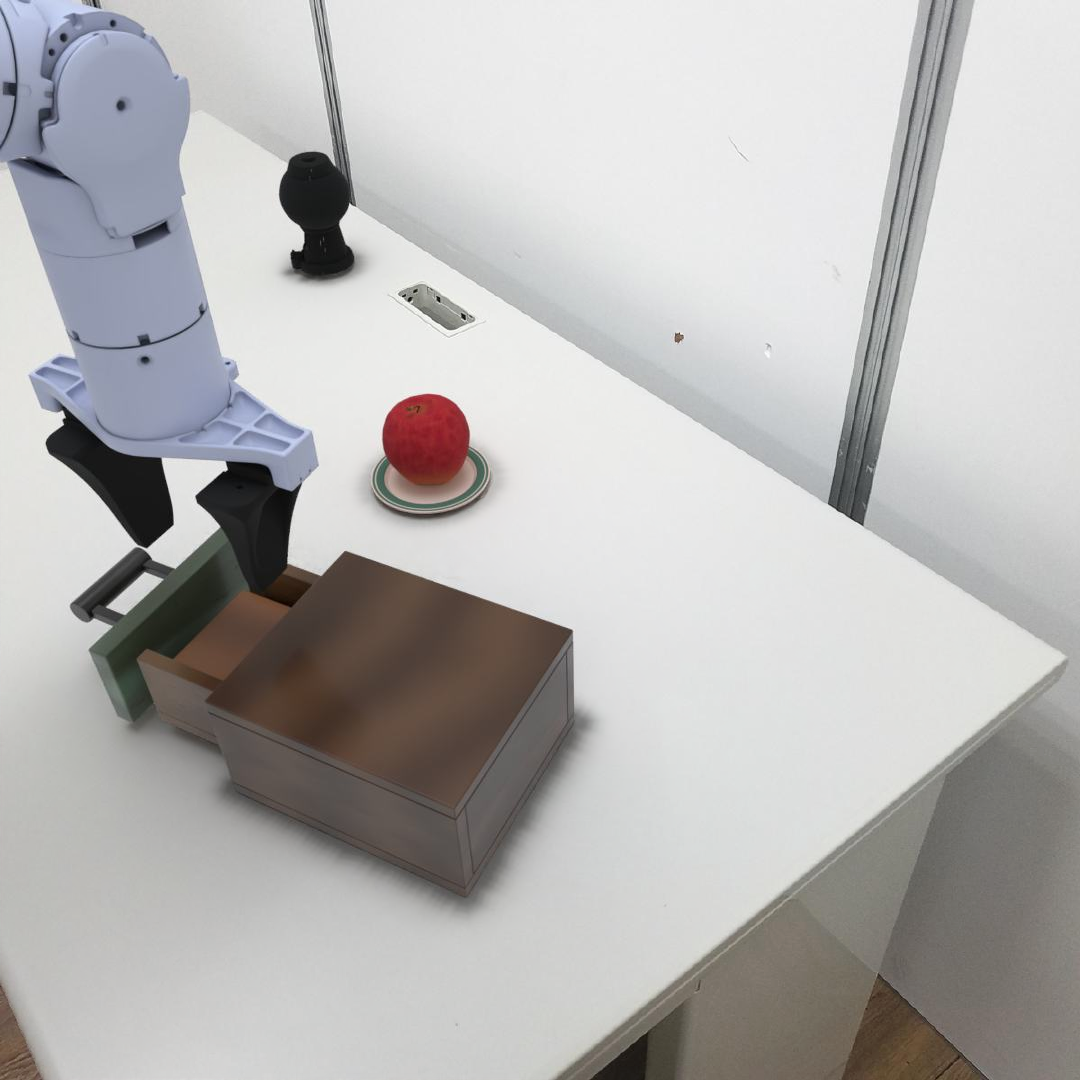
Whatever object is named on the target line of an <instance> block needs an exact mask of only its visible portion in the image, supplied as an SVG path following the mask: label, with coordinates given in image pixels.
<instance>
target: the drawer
mask: <svg viewBox="0 0 1080 1080" xmlns="http://www.w3.org/2000/svg"><path fill="white" fill-rule="evenodd" d="M145 573H146V574H148V575H150V576H154V577H156V578H158V579H161V580H162V581H160V582H159V583H157V585H156V586H155V587H154V588H152V590H151V591H150V592H148V593H147V594H146V595H145V596H144V597H143V598H142V599H141V600H140V601H139V602H138V603H136V605H135V606H134V607H132V608H131V609H130V610H128V612H127V613H126V614H124V613H120V612H118V611H117V610H116V611H115V610H114V609H111V608H108V606H109V605H111V603H113V602H114V601H115V600H116V599H117V598H118V597H119V596H120V595H122V594H123V593H124V592H125V591H126V590H127V589H128V588H129V587H130V586H131V585H133V584H134V583H135V582H136V581H137V580H138V579H139V578H140V577H142V576H143V575H144V574H145ZM321 576H322V575H320V574H318V573H315V572H313V571H309V570H306V569H304V568H301V567H299V566H295V565H293V564H291V563H287V569H286V570H285V571H284V572H283V573H282V574H281V575H280V576H279V577H278V578H277V579H276V580H275V581H274V582H273V583H272V584H271V585H270V586H269V587H268V588H267V589H266V590H265V591H263V592H261V591H258V590H255V589H253V588H251V587H250V585H249V584H248V583H247V581H246V580H245V578H244V576H243V574H242V571H241V569H240V566H239V564H238V561H237V558H236V556H235V553H234V550H233V548H232V546H231V543H230V542H229V540H228V538H227V536H226V535H225V533H224V532H223V530H222V529H221V527H220V526H219V527H218V529H216V531H214V532H213V533H212V534H211V535H210V536H209V537H208V538H207V539H205V541H203V542H202V543H201V544H200V545H199V546H198V547H197V548H196V549H195V550H194V551H193V552H192V553H191V554H190V555H189V556H187V557H186V558H185V559H184V560H183V561H182V562H180V564H179V565H178V566H176V567H175V568H174V567H171V566H169V565H167V564H164V563H161V562H158V561H155V560H153V558H152V556H151V555H150V553H149V552H147V550H145V549H144V548H143V547H140V546H135V547H133V548H132V549H131V550H130V551H128V553H127V554H126V555H124V556H123V557H122V558H121V559H120V560H118V561H117V562H116V563H114V565H113V566H111V567H110V568H109V569H108V570H107V571H106V572H105V573H104V574H102V576H101V577H99V578H97V580H96V581H95V582H94V583H92V584H91V585H90V586H89V587H87V589H85V590H84V591H83V592H82V593H81V594H80V595H78V596H77V597H76V598H75V599H73V601H72V602H71V603H70V605H69V608H70V611H71V612H72V614H73V615H74V616H75V617H76V618H77V619H78V620H79V621H81V622H83V623H86V624H88V623H91V622H92V621H93V620H97V621H99V622H102V623H104V624H107V625H109V626H111V628H109V629H108V630H107V631H106V632H105V633H104V634H102V636H101V637H100V638H99V639H98V640H96V641H95V642H94V643H93V644H92V645H91V646H90V647H89V648H88V653H89V655H90V657H91V659H92V662H93V664H94V666H95V668H96V671H97V673H98V675H99V677H100V679H101V682H102V684H103V686H104V689H105V691H106V693H107V695H108V698H109V700H110V702H111V705H112V707H113V709H114V712H115V713H116V716H117V717H118V718H120V719H122V720H124V721H127V722H129V723H131V724H135V723H136V722H138V720H139V719H140V718H141V717H142V716H143V715H144V714H145V713H146V712H147V711H148V710H149V709H150V708H151V707H152V706H153V705H154V706H155V708H156V710H157V713H158V715H159V718H160V720H162V721H164V722H166V723H168V724H170V725H172V726H175V727H177V728H179V729H181V730H184V731H185V732H188V733H190V734H193V735H195V736H198V737H199V738H202V739H204V740H207V741H208V742H211V743H213V744H216V745H217V746H220V745H219V742H218V739H217V737H216V734H215V731H214V728H213V725H212V723H211V720H210V717H209V714H208V711H207V708H206V705H205V702H204V701H205V700H206V699H207V697H208V696H209V695H210V694H211V693H212V692H213V691H214V690H215V689H216V688H217V687H218V686H219V685H220V684H221V682H222V681H223V680H221V679H219V678H216V677H214V676H211V675H209V674H207V673H204V672H202V671H199V670H197V669H195V668H192V667H190V666H188V665H185V664H183V663H180V662H178V661H176V660H173V659H174V658H175V657H176V656H177V655H178V654H179V653H180V652H181V651H182V650H183V649H184V648H185V647H186V646H187V645H188V644H189V643H190V642H191V641H192V640H193V639H194V638H195V637H196V636H197V635H198V633H199V632H200V631H201V630H202V629H203V628H204V627H205V626H206V625H207V624H208V623H209V622H210V621H211V620H212V619H213V618H214V617H215V616H216V615H217V614H218V613H219V612H220V611H221V610H222V609H223V608H224V607H225V606H226V605H227V604H228V603H229V602H230V601H231V600H232V599H233V598H234V597H235V596H236V595H237V594H238V593H239V592H240V591H241V590H246V591H249V592H251V593H254V594H257V595H259V596H262V597H264V598H267V599H270V600H272V601H275V602H278V603H280V604H283V605H286V606H288V607H291V608H292V607H293V606H294V605H295V603H296V602H297V601H298V600H299V599H300V598H301V597H302V596H303V595H304V594H305V593H306V592H307V591H308V590H309V588H310V587H311V586H312V585H313V584H314V583H315V582H316V581H317V580H318V579H319V578H320V577H321Z"/></svg>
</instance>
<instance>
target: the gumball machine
mask: <svg viewBox="0 0 1080 1080" xmlns="http://www.w3.org/2000/svg"><path fill="white" fill-rule="evenodd" d="M303 149H304V150H306V149H305V147H303ZM278 199H279V203H280V206H281V209H282V210H283V211H284V213H285V215H286V217H288V218H289V219H290V221H291V222H293V223H294V224H296V225H298V226H299V228H300V229H301V231H302V232H303V239H304V240H303V244H302V249H301V250H297V251H296V250H295V249H291V251H290V253H289V255H290V262H291V263H290V264H291V268H292V269H294V270H296V271H302V272H303V273H305V274H308V275H311V276H317V277H318V276H321V277H323V278H324V277H325V276H331V275H336V274H340V273H342V272H345V271H347V270H348V269H349V268H351V267H352V266H353V264H354V263H355V254H354V251H353V250H352V247H350V246H349V245H347V244H346V240H345V237H344V235H343V231H342V229H341V226H340V223H341V220H342V219H343V218H344V216H345V215H346V214H347V212H348V210H349V207H350V203H351V202H350V200H351V189H350V184H349V182H348V180H347V177H346V176H345V175H344V174H343V172H342V171H341V170H340V169H339V168H338V166H336V165H334V163H333V162H332V160H331V158H330V157H329V156H328V155H327V153H324V152H320V151H313V150H312V151H303V152H300V153H297V154H295V155H293V156H291V157H290V159H289V160H288V163H287V168H286V171H284V173H283V174H282V177H281V179H280V182H279V188H278Z"/></svg>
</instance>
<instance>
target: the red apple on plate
mask: <svg viewBox="0 0 1080 1080" xmlns="http://www.w3.org/2000/svg"><path fill="white" fill-rule="evenodd" d="M381 437H382V438H381V442H382V449H383V452H384V455H383V456H381V457H380V458H379V459H378V461H377V462H376V463H375V465H374V466H373V468H372V471H371V474H370V484H371V488H372V490H373V493H374V494H375V496H376V497H377V498H378V499H379V500H380V501H381V502H382V503H383V504H385V505H387V506H388V507H390V508H392V509H395V510H398V511H401V512H403V513H404V512H405V513H410V514H416V515H417V514H419V515H430V514H438V513H445V512H449V511H453V510H455V509H458V508H461V507H463V506H465V505H467V504H469V503H470V502H472V501H474V500H475V499H476V498H478V496H480V495H481V494H482V493H483V491H484V490H485V489H486V487H487V485H488V483H489V481H490V478H491V477H490V475H491V467H490V464H489V461H488V459H487V457H486V456H485V455H484V454H483V453H482V452H481V451H480V450H479V449H477V448H476V447H474V446H473V445H470V439H471V432H470V426H469V423H468V420H467V417H466V415H465V414H464V412H463V410H462V409H461V408H460V406H459V405H458V404H457V403H456V402H454V401H453V400H451V398H448V397H446V396H443V395H441V394H437V393H436V394H435V393H422V394H417V395H412V396H411V395H410V396H408V397H406V398H404V399H402V400H400V401H399V402H397V403H396V404H395V405H394V406H393V407H392V408H391V410H390V411H389V412H388V413H387V414H386V417H385V419H384V423H383V426H382V435H381Z"/></svg>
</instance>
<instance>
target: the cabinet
mask: <svg viewBox="0 0 1080 1080" xmlns="http://www.w3.org/2000/svg"><path fill="white" fill-rule="evenodd" d="M320 576H321V577H320V578H319V579H318V580H317V581H316V582H315V583H314V584H313V585H312V586H311V587H310V588H309V590H308V591H307V592H306V593H305V594H304V595H303V596H302V597H301V598H300V599H299V600H298V601H297V602H296V603H295V605H294V606H293V607H292V608H291V609H290V610H289V611H288V612H287V613H286V614H285V615H284V616H283V617H282V618H281V619H280V621H279V622H278V623H277V624H276V625H275V626H274V627H273V628H272V629H271V630H270V631H269V632H268V633H267V634H266V635H265V637H264V638H263V639H262V640H261V641H260V642H259V643H258V644H257V645H256V646H255V647H254V648H253V649H252V650H251V652H250V653H249V654H248V655H247V656H246V657H245V658H244V659H243V660H242V661H241V662H240V663H239V664H238V665H237V666H236V668H235V669H234V670H233V671H232V672H231V673H230V674H229V675H228V676H227V677H226V678H225V679H224V680H223V681H222V682H221V684H220V685H219V686H218V687H217V688H216V689H215V690H214V691H213V692H212V693H211V694H210V695H209V696H208V697H207V699H206V700H205V701H204V702H205V705H206V708H207V711H208V714H209V717H210V720H211V723H212V725H213V728H214V731H215V734H216V737H217V739H218V742H219V745H218V746H219V748H220V750H221V751H220V752H221V754H222V756H223V759H224V762H225V765H226V767H227V770H228V773H229V776H230V778H231V781H232V784H233V787H234V790H235V792H237V793H238V794H241V795H244V796H246V797H247V798H250V799H252V800H254V801H256V802H259V803H261V804H263V805H264V806H267V807H269V808H272V809H274V810H275V811H278V812H280V813H282V814H285V815H287V816H289V817H290V818H293V819H295V820H297V821H299V822H302V823H304V824H306V825H309V826H311V827H313V828H314V829H317V830H319V831H321V832H323V833H326V834H328V835H329V836H332V837H334V838H337V839H339V840H341V841H343V842H344V843H347V844H350V845H351V846H354V847H356V848H358V849H361V850H363V851H364V852H367V853H369V854H371V855H373V856H375V857H378V858H380V859H382V860H384V861H385V862H388V863H391V864H393V865H395V866H397V867H400V868H401V869H404V870H406V871H408V872H410V873H413V874H415V875H417V876H419V877H421V878H423V879H425V880H427V881H430V882H432V883H434V884H436V885H439V886H441V887H443V888H445V889H447V890H449V891H451V892H454V893H456V894H458V895H460V896H462V897H465V898H467V897H468V896H469V894H470V892H471V891H472V890H473V888H474V886H475V884H476V883H477V881H478V879H479V878H480V876H481V875H482V873H483V871H484V869H485V868H486V866H487V865H488V863H489V861H490V860H491V859H492V857H493V855H494V853H495V851H496V850H497V848H498V847H499V845H500V843H501V842H502V841H503V839H504V837H505V836H506V833H507V832H508V830H509V829H510V827H511V825H512V824H513V822H514V820H515V819H516V818H517V816H518V814H519V812H520V811H521V810H522V807H523V806H524V804H525V803H526V801H527V800H528V798H529V796H530V795H531V793H532V791H533V790H534V788H535V786H536V785H537V783H538V782H539V780H540V778H541V777H542V775H543V773H544V772H545V770H546V768H547V767H548V765H549V764H550V762H551V760H552V759H553V757H554V756H555V754H556V752H557V751H558V749H559V747H560V745H561V744H562V743H563V741H564V739H565V737H566V736H567V734H568V733H569V731H570V729H571V728H572V726H573V724H574V723H575V668H574V667H575V664H574V663H575V660H574V659H575V657H574V655H575V653H574V630H573V629H572V628H570V627H569V628H568V627H566V626H563V625H561V624H557V623H554V622H552V621H549V620H546V619H543V618H540V617H537V616H534V615H531V614H529V613H526V612H523V611H520V610H517V609H514V608H511V607H508V606H506V605H502V604H500V603H498V602H494V601H491V600H488V599H486V598H482V597H479V596H477V595H474V594H472V593H468V592H465V591H463V590H460V589H457V588H454V587H451V586H448V585H445V584H443V583H439V582H437V581H433V580H432V579H428V578H426V577H423V576H419V575H416V574H414V573H412V572H411V573H410V572H408V571H405V570H402V569H400V568H396V567H393V566H391V565H388V564H385V563H382V562H379V561H376V560H374V559H370V558H367V557H365V556H362V555H359V554H357V553H354V552H351V551H348V550H343V552H342V553H341V554H340V555H339V556H338V557H337V558H336V560H335V561H334V562H333V563H332V564H331V565H330V566H329V567H328V568H327V569H326V570H325V571H324V573H322V574H321V575H320Z"/></svg>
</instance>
